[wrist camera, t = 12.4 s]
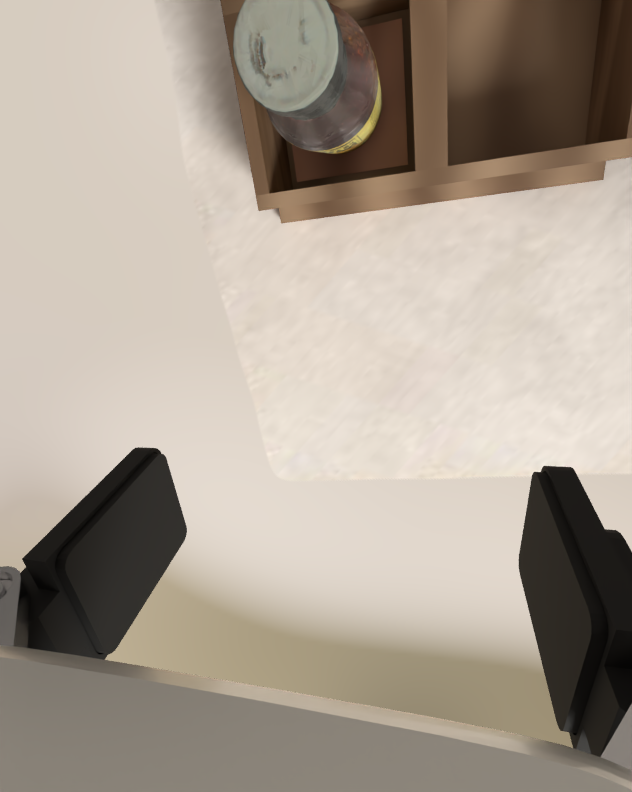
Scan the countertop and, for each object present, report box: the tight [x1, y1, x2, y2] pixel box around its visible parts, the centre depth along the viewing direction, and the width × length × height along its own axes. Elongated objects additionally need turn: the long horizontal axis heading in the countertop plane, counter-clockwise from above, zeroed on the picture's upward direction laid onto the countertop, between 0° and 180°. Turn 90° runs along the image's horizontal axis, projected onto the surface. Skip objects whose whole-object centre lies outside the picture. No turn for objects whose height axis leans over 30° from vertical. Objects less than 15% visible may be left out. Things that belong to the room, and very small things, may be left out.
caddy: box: [220, 0, 632, 223], centre depth 29 cm, size 25×15×8 cm, turn 98°
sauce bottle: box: [233, 0, 382, 154], centre depth 24 cm, size 6×6×20 cm
